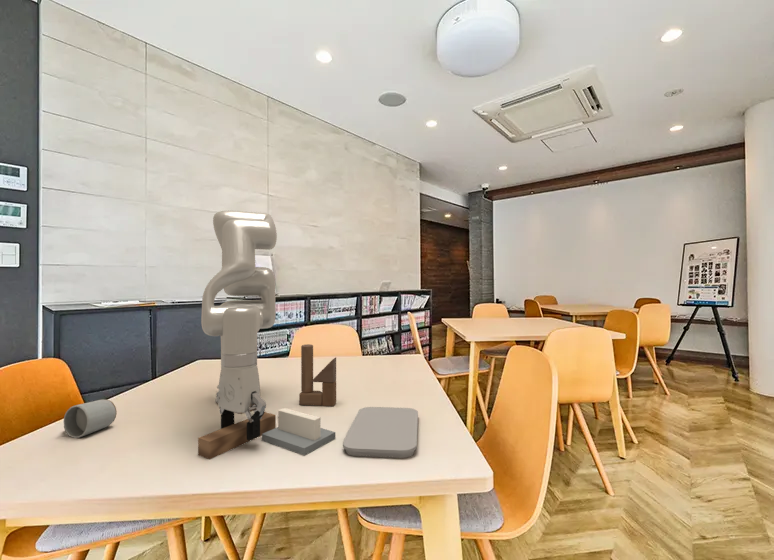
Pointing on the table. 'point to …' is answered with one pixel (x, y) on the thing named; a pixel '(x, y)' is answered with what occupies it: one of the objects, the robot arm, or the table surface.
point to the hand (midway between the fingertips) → (240, 433)
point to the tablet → (383, 432)
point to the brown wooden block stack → (325, 376)
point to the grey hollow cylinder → (89, 417)
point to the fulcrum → (298, 432)
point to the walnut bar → (231, 436)
